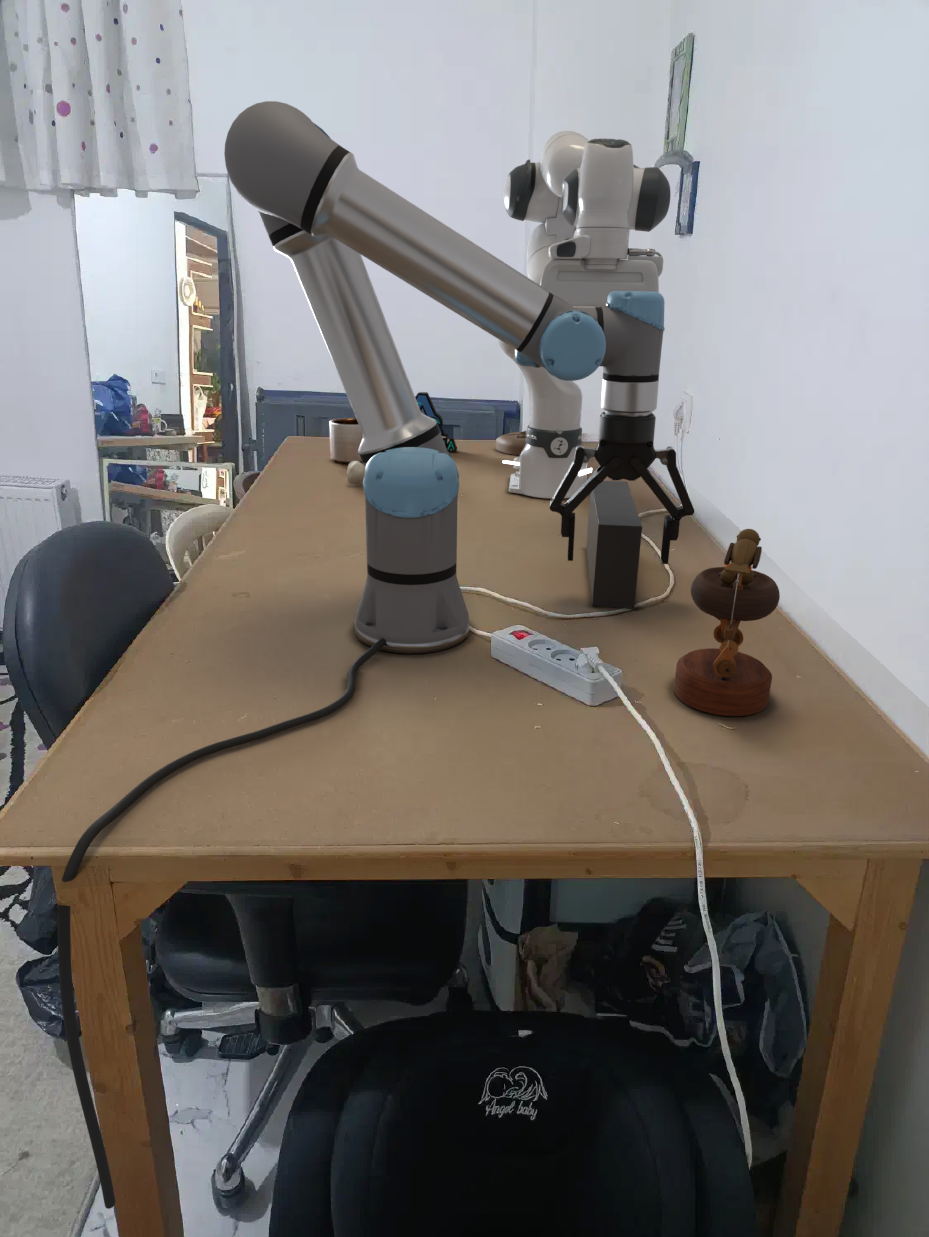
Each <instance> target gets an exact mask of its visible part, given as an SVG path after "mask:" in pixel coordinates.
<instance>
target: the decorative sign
mask: <svg viewBox="0 0 929 1237" xmlns="http://www.w3.org/2000/svg"><path fill="white" fill-rule="evenodd" d="M415 398H416V401H417V403H418V406H419V409H420V411H421V412H422V411H423V414H424V415H426V416H428V417H430V418H432V419H435V421H436V423H437V425H438V428H439V431H440V433H441V436H442V438H443V441H444V444H445V446H446V449H447V451H448V452H449V453H450V452H453V453H455V452H457V450H458V446H457V444H456V440H455V438H454V437H453V436H452V437H449V434H448V433H447V432H445V430H444V427H443V424H444V419H443V417H442V416H441V415H440V414H439V413H438V412H437V411H436V408H435V406H434V404H433V401H432V399H431V397H430V394H429V392H427V391H419V392H417V393H416V395H415ZM448 438H449V439H448Z"/></svg>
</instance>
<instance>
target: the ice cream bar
mask: <svg viewBox="0 0 929 1237" xmlns="http://www.w3.org/2000/svg"><path fill="white" fill-rule="evenodd" d="M526 431H527V430H523V431H513V432H509V433H505V434H502V435H500V436H498V437H497V438H496V440H495V450H496V451H499V452H501V453H504V454H509V455H515V456H520V454H521V453H522V451H523V449H524V447H525V445H526V441H525V440H526Z"/></svg>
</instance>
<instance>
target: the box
mask: <svg viewBox="0 0 929 1237" xmlns="http://www.w3.org/2000/svg"><path fill="white" fill-rule="evenodd" d="M588 509H589V510H588V518H587V519H588V520H587V521H588V522H587V534H586V546H585V548H586V549H585V550H586V559H587V560H586V561H587V570H588V579H589V589H590V598H591V606H592V607H599V608H601V607H602V608H621V609H635V605H636V595H637V586H638V574H639V565H640V554H641V545H642V534H643V532H642V531H643V525H642V524H643V523H642V521H641V518H640V516H639V513H638V509H637V506H636V503H635V501H634V498H633V495H632V491H631V489H630V485H629V483H628V481H627V480H623V481H622V480H603V481H602V482H601V483H600V484H599V485H598V486H597V487H596V488H595V489H594V490H593V491H592V492H591V493H590V494H589V508H588Z"/></svg>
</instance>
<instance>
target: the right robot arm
mask: <svg viewBox="0 0 929 1237" xmlns="http://www.w3.org/2000/svg"><path fill="white" fill-rule="evenodd" d="M502 192H503V193H502V198H503V199H502V200H503V204H504V207H505V211H506V214H507V215H508V217H509V218H512V219H514V220H517V221H521V222H524V221H529V222H533V223H539V224H538V225H536V226H535V228H534V229H533V230H532V231H531V233H530V235H529V238H528V241H527V242H528V244H527V248H526V273H527V274H526V277H528V278H529V279H531V280H532V281H534V282H535V283H537V284H539V285H540V286H542V287H543V288H545V289H546V290H548V291H549V292H550V293H552V294H553V295H555V296H557V297H559V298H560V299H562V300H563V301H565V302H567V303H568V304H570V305H571V306H573V307H584V308H595V307H604V306H606V302H607V299H608V295H609V294H610V293H611V292H613V291H654V292H659V293H660V286H659V284H660V283H659V282H660V281H659V277H660V276H661V275H662V273H663V271H664V270H663V269H664V258H663V255H662V254H661V253H660V252H659V251H656V249H654V248H645V249H644V248H636V247H635V248H634V247H633V248H631V247H630V248H629V242H630V233H631V232H630V231H631V230H634V231H635V232H637V231H639V232H646V233H647V232H648V233H649V232H651V231H653V230H654V229H655V228H656V227H657V226H658V225H660V224H661V223H662V222H663V221H664V219H665V218H666V216H667V214H668V212H669V209H670V204H671V186H670V181H669V180H668V178H667V176H666V175H665V173H664V172H663V171H662V170H661V169H660V168H659V167H658V166H653V167H652V166H649V167H648V166H647V167H639V166H638V165H636V164H634V151H633V145H632V143H630V142H629V141H627V140H626V139H619V138H618V139H616V138H592V139H590V140H589V139H588V138H587V137H586V136H584V135H583V134H581V133H579V132H576V131H573V130H561V131H558V132H556V133H554V134H552V135H551V136H550V137H549V138H548V139H547V140H546V141H545V143H544V145H543V147H542V150H541V153H540V160H539V162H531V159H527V160H526V161H525V163H523V164H521V165H518V166H515V167H514V168H513V169H512V170H511V171H510V172H509V173H508V174H507V178H506V180H505V183H504V187H503V191H502ZM497 341H498V345H499V347H500V348H501V350H502V351H503V353H504V354H505V355H506V356H508V357H509V358H510V359H511V360H512V361H513V362H514V363H515V364H516V365H517V366H518V368H519V369H520V371H521V372H522V374H523V376H524V379H525V382H526V386H527V390H528V425H527V426H526V430H525V431H526V440H525V441H526V445H525V447H524V449H523V451H522V453H521V454H520V455H519V456H517V457H514V458H513V459H512V460H506V459H504V460H503V459H502V464H506V465H512V469H514V470H515V469H516V470H515V473H511V474H510V479H509V485H508V493H512V494H519V495H524V496H527V497H533V498H540V499H552V498H553V496H554V494H555V492H556V490H557V489H558V487H559V485H560V483H561V482H562V480H563V478H564V476H565V474H566V473H567V471H568V469H569V467H570V466H571V464H572V462H573V460H574V455H575V449H576V446H577V445H582V441H583V428H582V426H581V423H582V412H583V411H582V410H583V409H582V408H583V392H582V389H581V387H580V386H579V384H577V383H576V382H575V381H565V380H561V379H558V378H557V377H555V376H553V375H551V374H550V373H549V372H548V371H547V370H546V369H545V368H544V367H539V368H535V367H533V366H521V365H519V364H518V363H517V362H516V359H515V349H514V348H512V347H510V346H509V345H507V344H506V343H504V342H502V341H501V340H499V339H497ZM518 469H519V470H518ZM591 473H593V467H589V468H588V462H587V463H583V464H582V467H581V469H580V471H579V473H578V475H577V476H576V478H575V480H574V482H573V483H572V485H571V487H570V489H569V490H568V492H567V494H566V496H565V497H564V499H570V498H571V496H572V495H573V494H574V493H575V492H576V491H577V490H578V489H579V488H580V487H581V486H582V485H583V484H584V483H585V482H586V481H587V480H588V474H591Z"/></svg>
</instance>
